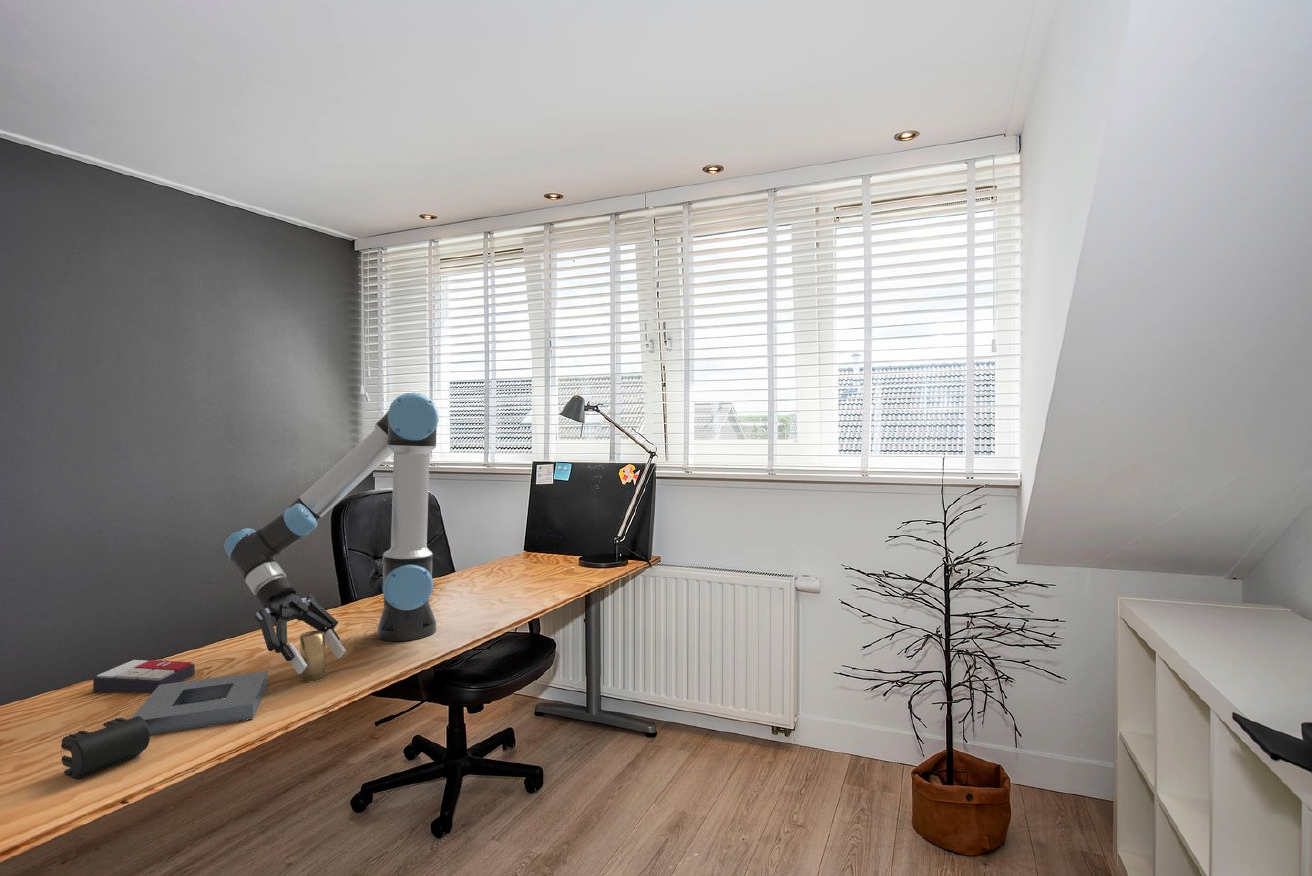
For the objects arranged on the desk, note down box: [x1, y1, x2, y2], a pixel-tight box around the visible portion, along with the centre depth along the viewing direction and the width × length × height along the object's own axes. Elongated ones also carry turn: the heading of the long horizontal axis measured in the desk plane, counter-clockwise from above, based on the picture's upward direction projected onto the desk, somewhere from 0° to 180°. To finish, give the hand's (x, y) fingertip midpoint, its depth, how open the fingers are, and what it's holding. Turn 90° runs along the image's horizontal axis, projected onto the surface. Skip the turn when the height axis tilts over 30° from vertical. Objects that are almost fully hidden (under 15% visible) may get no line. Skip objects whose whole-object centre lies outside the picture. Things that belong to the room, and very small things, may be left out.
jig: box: [131, 670, 269, 736], centre depth 140 cm, size 20×20×3 cm
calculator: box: [92, 659, 196, 694], centre depth 154 cm, size 11×4×15 cm
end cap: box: [60, 716, 151, 780], centre depth 116 cm, size 10×7×7 cm
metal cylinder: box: [299, 630, 327, 683], centre depth 156 cm, size 5×5×10 cm
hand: (323, 662), depth 155 cm, fingers open, 10 cm apart
